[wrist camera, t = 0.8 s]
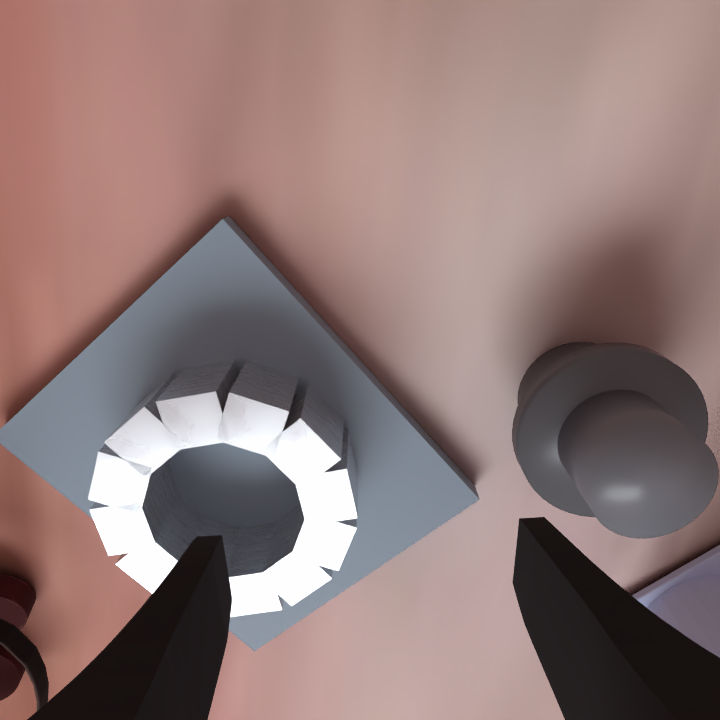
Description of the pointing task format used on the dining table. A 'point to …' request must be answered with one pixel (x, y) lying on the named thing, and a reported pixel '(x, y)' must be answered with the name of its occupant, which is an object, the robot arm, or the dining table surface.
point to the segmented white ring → (244, 430)
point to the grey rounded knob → (615, 437)
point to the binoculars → (18, 641)
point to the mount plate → (227, 462)
